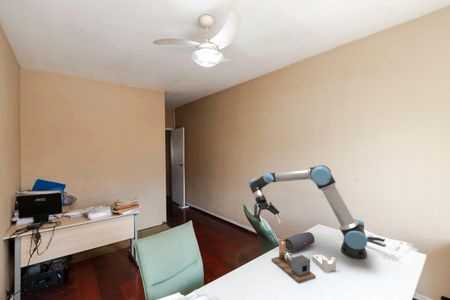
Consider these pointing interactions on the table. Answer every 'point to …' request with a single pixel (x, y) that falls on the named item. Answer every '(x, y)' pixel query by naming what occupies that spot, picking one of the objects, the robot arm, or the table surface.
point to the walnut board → (287, 268)
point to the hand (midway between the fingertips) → (271, 224)
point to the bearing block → (300, 266)
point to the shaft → (284, 251)
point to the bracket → (324, 263)
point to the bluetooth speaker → (299, 241)
